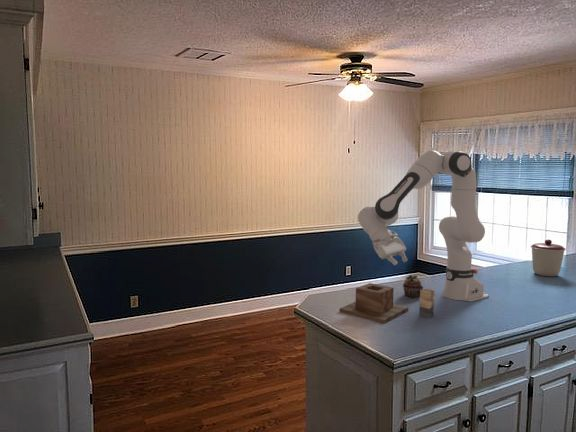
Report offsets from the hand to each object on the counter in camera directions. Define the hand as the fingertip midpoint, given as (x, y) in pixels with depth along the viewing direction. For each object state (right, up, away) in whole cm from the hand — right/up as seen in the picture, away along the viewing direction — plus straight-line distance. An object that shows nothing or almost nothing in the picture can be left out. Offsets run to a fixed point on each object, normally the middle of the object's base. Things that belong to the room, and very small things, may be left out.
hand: (401, 262), depth 205 cm
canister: (+103, -14, +69) cm, 125 cm away
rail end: (+9, -22, -5) cm, 25 cm away
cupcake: (+11, -19, +23) cm, 32 cm away
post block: (-12, -21, 0) cm, 25 cm away
